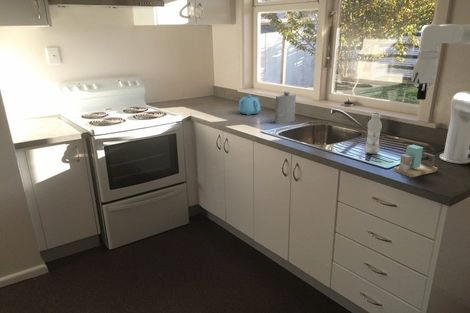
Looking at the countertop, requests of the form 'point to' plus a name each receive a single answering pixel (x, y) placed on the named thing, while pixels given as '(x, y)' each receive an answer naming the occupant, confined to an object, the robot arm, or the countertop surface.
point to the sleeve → (415, 155)
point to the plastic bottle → (373, 134)
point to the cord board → (424, 168)
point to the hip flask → (285, 108)
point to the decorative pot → (249, 105)
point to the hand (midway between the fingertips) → (420, 99)
